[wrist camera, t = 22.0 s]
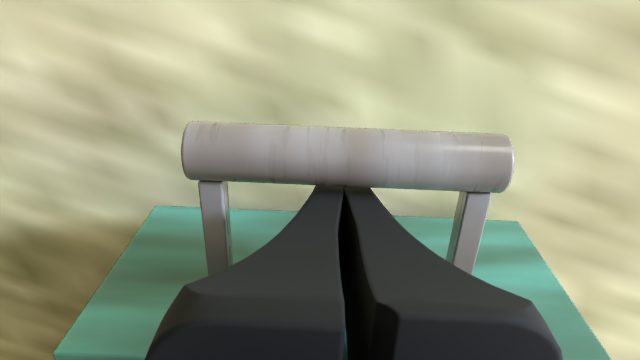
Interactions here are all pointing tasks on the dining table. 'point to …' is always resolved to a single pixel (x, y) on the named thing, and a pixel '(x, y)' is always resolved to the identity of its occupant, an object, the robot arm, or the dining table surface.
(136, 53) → the dining table surface
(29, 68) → the dining table surface
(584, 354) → the drawer
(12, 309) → the dining table surface
